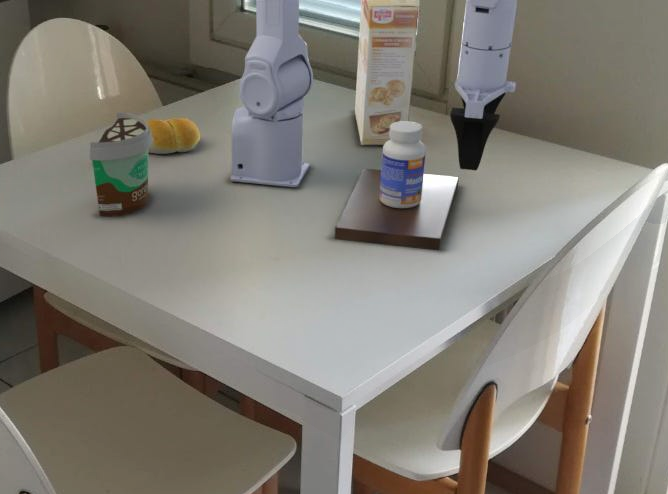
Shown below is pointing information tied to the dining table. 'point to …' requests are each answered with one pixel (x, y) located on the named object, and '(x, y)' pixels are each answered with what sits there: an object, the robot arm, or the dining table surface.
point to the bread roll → (173, 135)
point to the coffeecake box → (384, 66)
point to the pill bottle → (403, 166)
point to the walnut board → (398, 213)
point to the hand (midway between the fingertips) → (471, 157)
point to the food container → (122, 165)
